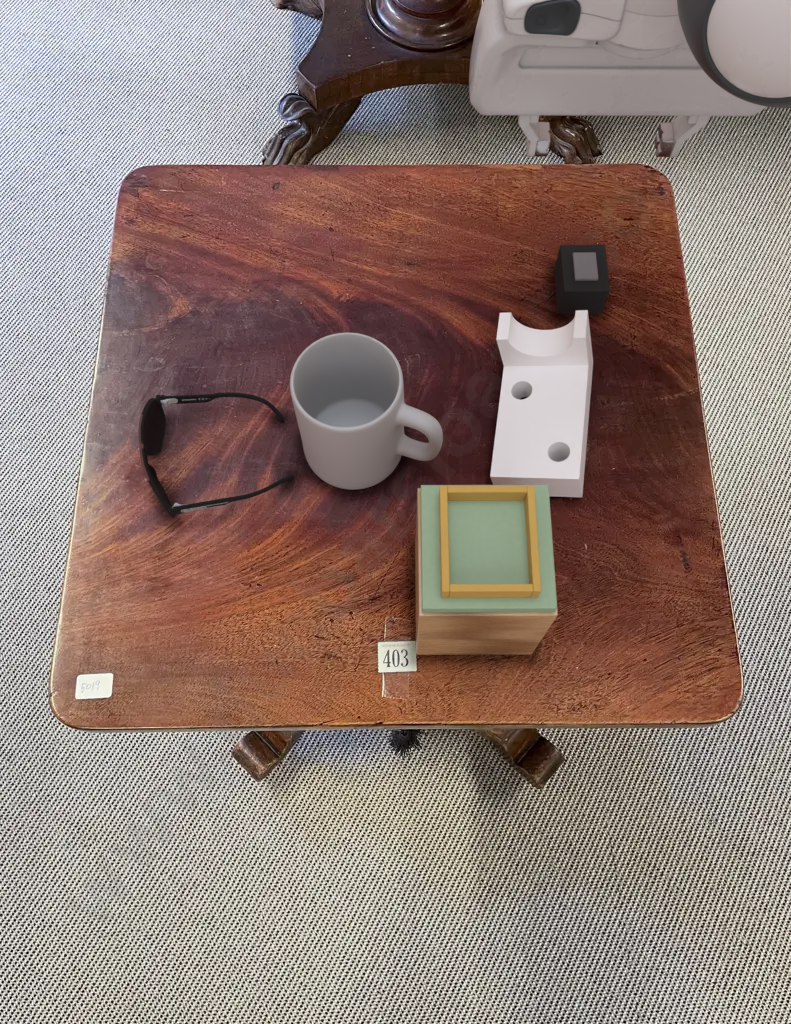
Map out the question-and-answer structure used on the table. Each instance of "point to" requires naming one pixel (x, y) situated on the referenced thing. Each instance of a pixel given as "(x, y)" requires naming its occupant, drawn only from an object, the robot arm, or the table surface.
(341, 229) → the table surface
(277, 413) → the sunglasses
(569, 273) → the black block
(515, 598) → the base pad
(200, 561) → the table surface
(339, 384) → the mug
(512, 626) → the stand
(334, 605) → the table surface
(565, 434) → the bracket
